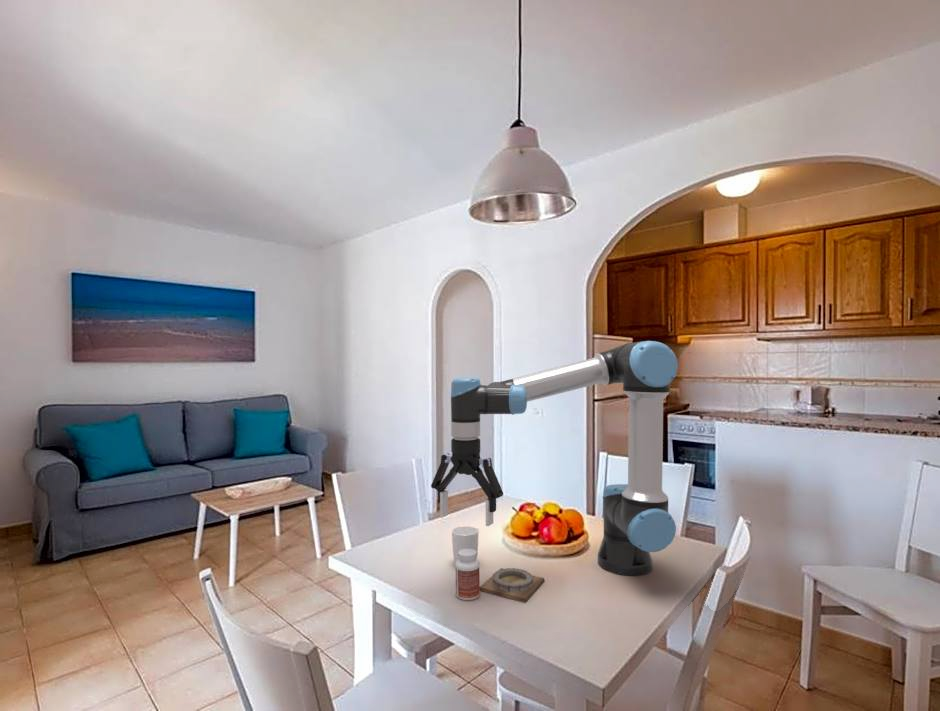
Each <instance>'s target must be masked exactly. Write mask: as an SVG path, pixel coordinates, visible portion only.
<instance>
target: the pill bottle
mask: <svg viewBox="0 0 940 711" xmlns="http://www.w3.org/2000/svg"><path fill="white" fill-rule="evenodd" d="M476 557H477V559H476ZM458 558H459V559H458V560H457V562H456V564H455V565H454V566H455V568H454V569H455V596H456V597H457V598H458V599H460V600H463V601H473V600H476V599H478V598H479V596H480V594H481V591H480V586H481V584H480V583H481V582H480V561H479V560H478V555H476V551H475V550H473V549H462V550H460V551H459V552H458Z"/></svg>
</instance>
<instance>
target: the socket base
mask: <svg viewBox="0 0 940 711" xmlns="http://www.w3.org/2000/svg"><path fill="white" fill-rule="evenodd" d="M545 581H546V580H545V577H542V576H537V575H534V574H532V573H530V572H529V571H527V570H524V569H521V568H517V567H516V568H514V567H513V568H511V567H510V568H509V567H508V568H499V569H498V570H496V571H494V573H493V574H492V576H490V577H489V578H488V579H487V580H486V581H485V582H484V583H482V584H480V592H482V593H486V594H490V595H493V596H498V597H502V598H506V599H509V600H513V601H517V602H520V603H527V602H528V601H529V600H530V599H531V597H532V596H533V595H534V594H535V593H536V592H537V591H538V589H540V587H542V586H543V585H544V583H545Z"/></svg>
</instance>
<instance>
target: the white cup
mask: <svg viewBox="0 0 940 711" xmlns="http://www.w3.org/2000/svg"><path fill="white" fill-rule="evenodd" d="M451 540H452V542H451V543H452V554H453V565H454V566H455V564H456V562H457V560H458V559H459V558H458V552H459V551H460V550H462V549H473V550H475V551H476V555H477V557H476V559H477V560H478V553H479V552H478V550H479V549H478V548H479V529H478V528H477V527H475V526H470V525H461V526H457V527H454V528H452V529H451Z"/></svg>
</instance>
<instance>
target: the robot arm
mask: <svg viewBox="0 0 940 711" xmlns="http://www.w3.org/2000/svg"><path fill="white" fill-rule="evenodd" d="M678 363H679V362H678V359H677V356H676V354H675V353H674V351H673V350H672V349H671V348H670V346H668V345H667V344H665V343H662V342H660V341H656V340H653V341H652V340H645V341H644V340H643V341H636V342H628V343H623V344H621V345H619V346H617V347H614V348H611V349H608V350H605V351H601V352H597V353H595V354H594V357H593V358H589V359H585V360H580V361H577V362H572V363H568V364H565V365H564V364H563V365H561V366H556V367H553V368H550V369H545V370H541V371H537V372H533V373H529V374H525V375H522V376H517V377H513V378H511V379H506V380H502V381H493V382H491V383H489V384H487V385H483V384H481V381H480V378H478V377H456V378H453V380H452V381H451V389H450V390H451V391H450V418H451V421H450V429H451V431H450V436H451V437H452V439H451V441H450V443H451V444H450V445H451V446H450V448H451V450H450V451H451V454H452V455H451V454H450V453H448V452H447V453H445V454H442V455H441V456H440V464H439V466H438V469H437V470H436V473H435V476H434V478H433V480H432V481H431V482H432V483H431V484H430V487H431V489H434V490H436V491H437V503H438V504H439V518H445V517H447V516H448V515H449V490H448V489H447V487H448V486H449V485H450V483H452V481H453V480H454V478H455V477H456V476H457V475H466V476H472V477H473V478H474V479H475V480H476V482H477V483H478V485H479V486H480V487H481V489H482V490H483V492H484V494H485V495H486V497H487V499H485V527H490V526H492V525H493V524H494V513H495V512H496V511H497V499H499V498H501V497H503V496H504V491H503V488H502V486H501V485H500V482H499V480H498V478H497V475H496V473H495V469H494V468H493V463H492V462H493V461H492V459H491V457H488V458H481V439H480V436H481V415H518V414H519V415H520V414H524V413H525V412H526V411H527V405H528V402H532V401H535V400H539V399H543V398H548V397H552V396H555V395H558V394H559V395H560V394H562V393H567V392H572V391H575V390H578V389H582V388H583V389H584V388H586V387H590V386H594V385H598V384H601V385H603V386H609V385H613V384H622V387H623V388H622V392H623V393H624V394H625V395H626V396H627V397H628V443H627V445H628V446H627V448H628V449H627V450H628V452H627V454H628V457H627V462H628V464H627V484H624V483H623V484H621V483H620V484H619V483H617V484H609V485H605V486H604V488H603V491H602V492H603V493H602V506H603V508H602V509H603V510H602V512H603V517H602V518H603V538H602V540H601V542H600V546H599V549H598V552H597V564H598V565H599V566H600V567H601V568H602V569H604V570H606V571H608V572H611V573H613V574H618V575H623V576H624V575H625V576H642V575H646V574H648V573H650V572H651V571H652V569H653V560H652V559H653V558H652V555H651V553H657V552H658V553H659V552H660V551H663V550H664V549H666V548H667V547H668V546H670V545H671V544H672V542H673V541H674V539H675V536H676V533H677V526H676V525H677V524H676V522H675V520H674V518H673V517H672V516H673V515H671V514H670V513H669V496H668V495H667V494H666V493H665V492H664V490H663V458H664V456H663V453H664V452H663V451H664V450H663V449H664V446H663V444H664V441H663V440H664V399H665V398H666V397H667V396H668V395H670V391H671V390H670V385H671V382H673V380H674V379H675V378H676V376H677V374H678V370H679V364H678ZM450 463H452V465H453V466H452V467H451V468H450V470H449V472H448V473H447V474H446V472H447V469H448V467H449V464H450ZM480 465H481V467H482V468H483V470H484V473H485V475H484V473H483V470H482V469H481V467H480ZM445 474H446V476H445ZM444 476H445V477H444ZM485 476H486V477H485Z"/></svg>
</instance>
